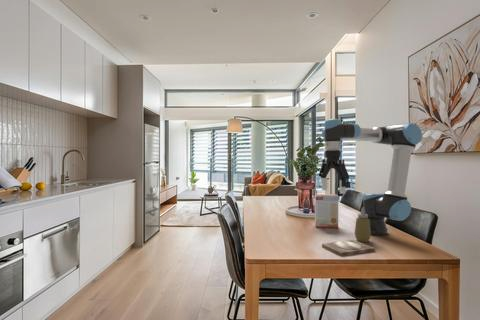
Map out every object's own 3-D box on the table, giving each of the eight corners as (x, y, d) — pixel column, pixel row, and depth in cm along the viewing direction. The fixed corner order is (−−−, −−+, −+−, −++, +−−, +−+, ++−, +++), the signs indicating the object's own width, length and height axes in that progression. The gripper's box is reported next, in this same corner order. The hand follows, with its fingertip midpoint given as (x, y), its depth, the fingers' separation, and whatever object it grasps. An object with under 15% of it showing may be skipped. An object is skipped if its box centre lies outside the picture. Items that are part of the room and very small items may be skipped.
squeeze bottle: (366, 238, 155) (366, 206, 155) (373, 243, 147) (374, 208, 147) (351, 238, 155) (352, 206, 155) (358, 243, 147) (359, 208, 147)
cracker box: (336, 225, 184) (336, 194, 184) (338, 228, 178) (338, 195, 178) (314, 225, 185) (314, 193, 185) (315, 227, 179) (316, 194, 179)
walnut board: (353, 242, 148) (353, 239, 148) (375, 251, 135) (375, 247, 135) (321, 246, 141) (321, 243, 141) (341, 256, 128) (341, 251, 128)
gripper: (311, 150, 153) (312, 189, 153) (343, 149, 129) (344, 195, 130) (323, 150, 155) (323, 188, 156) (356, 149, 132) (357, 194, 132)
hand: (333, 191), depth 143 cm, fingers open, 13 cm apart
